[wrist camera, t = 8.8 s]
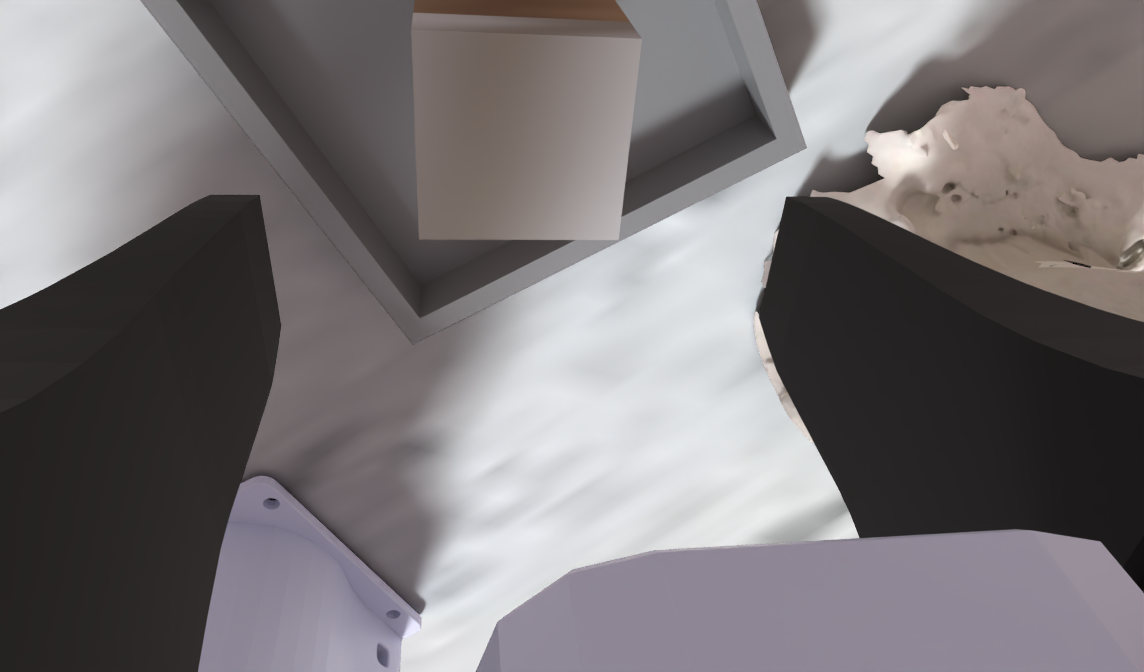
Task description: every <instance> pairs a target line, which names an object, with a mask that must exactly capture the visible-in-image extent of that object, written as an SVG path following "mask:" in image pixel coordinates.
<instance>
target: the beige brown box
mask: <svg viewBox="0 0 1144 672" xmlns="http://www.w3.org/2000/svg"><path fill="white" fill-rule="evenodd" d="M411 40H412V66H413V93H414V120H415V146H416V173H417V200H418V226H419V239H432V240H619V233H620V224H621V215H622V207H623V198H624V190H625V181H626V173H627V164H628V155H629V147H630V138H631V130H632V121H633V113H634V104H635V96H636V87H637V78H638V70H639V61H640V53H641V44H642V38H641V37H640V35H639V34H638V32H637V31H636V29H635V28H634V27H633V25H632V24H631V22H630V21H629V19H628V18H627V16H626V15H625V14H624V12H623V11H622V9H621V8H620V6H619V5H618V4H617V2H616V1H615V0H415V1H414V10H413V18H412V27H411Z"/></svg>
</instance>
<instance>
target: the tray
mask: <svg viewBox="0 0 1144 672" xmlns="http://www.w3.org/2000/svg"><path fill="white" fill-rule="evenodd" d="M414 1H415V0H141V2H142V3H143V4H144V6H145V7H146V8H147V9H148V11H149V12H150V13H151V14H152V16H153V17H154V18H155V19H156V21H157V22H158V23H159V24H160V26H161V27H162V28H163V30H164V31H165V32H166V33H167V35H168V36H169V37H170V38H171V40H172V41H173V42H174V43H175V45H176V46H177V47H178V48H179V50H180V51H181V52H182V54H183V55H184V56H185V57H186V59H187V60H188V61H189V62H190V64H191V65H192V66H193V67H194V69H195V70H196V71H197V72H198V74H199V75H200V76H201V78H202V79H203V80H204V81H205V83H206V84H207V85H208V86H209V88H210V89H211V90H212V91H213V93H214V94H215V95H216V96H217V98H218V99H219V100H220V102H221V103H222V104H223V105H224V107H225V108H226V109H227V110H228V112H229V113H230V114H231V115H232V117H233V118H234V119H235V120H236V122H237V123H238V124H239V126H240V127H241V128H242V129H243V131H244V132H245V133H246V134H247V136H248V137H249V138H250V139H251V141H252V142H253V143H254V144H255V146H256V147H257V148H258V150H259V151H260V152H261V153H262V155H263V156H264V157H265V158H266V160H267V161H268V162H269V163H270V165H271V166H272V167H273V168H274V170H275V171H276V172H277V174H278V175H279V176H280V177H281V179H282V180H283V181H284V182H285V184H286V185H287V186H288V187H289V189H290V190H291V191H292V193H293V194H294V195H295V196H296V198H297V199H298V200H299V201H300V203H301V204H302V205H303V206H304V208H305V209H306V210H307V211H308V213H309V214H310V215H311V217H312V218H313V219H314V220H315V222H316V223H317V224H318V225H319V227H320V228H321V229H322V230H323V232H324V233H325V234H326V235H327V237H328V238H329V239H330V241H331V242H332V243H333V244H334V246H335V247H336V248H337V249H338V251H339V252H340V253H341V254H342V256H343V257H344V258H345V259H346V261H347V262H348V263H349V265H350V266H351V267H352V268H353V270H354V271H355V272H356V273H357V275H358V276H359V277H360V278H361V280H362V281H363V282H364V283H365V285H366V286H367V287H368V289H369V290H370V291H371V292H372V294H373V295H374V296H375V297H376V299H377V300H378V301H379V302H380V304H381V305H382V306H383V307H384V309H385V310H386V311H387V313H388V314H389V315H390V316H391V318H392V319H393V320H394V321H395V323H396V324H397V325H398V326H399V328H400V329H401V330H402V331H403V333H404V334H405V335H406V337H407V338H408V339H409V340H410V342H411V343H412V344H415V343H417V342H419V341H421V340H423V339H425V338H427V337H429V336H431V335H433V334H435V333H437V332H439V331H441V330H443V329H445V328H447V327H449V326H451V325H453V324H455V323H457V322H459V321H461V320H463V319H465V318H467V317H469V316H471V315H473V314H475V313H477V312H479V311H481V310H483V309H485V308H487V307H489V306H491V305H493V304H495V303H497V302H499V301H501V300H503V299H505V298H507V297H509V296H511V295H513V294H515V293H517V292H519V291H521V290H523V289H525V288H527V287H529V286H531V285H533V284H535V283H537V282H539V281H541V280H543V279H545V278H547V277H549V276H551V275H553V274H555V273H557V272H559V271H561V270H563V269H565V268H567V267H569V266H571V265H573V264H575V263H577V262H579V261H581V260H583V259H585V258H587V257H589V256H591V255H593V254H595V253H597V252H599V251H601V250H603V249H605V248H607V247H609V246H611V245H613V244H615V243H617V242H619V241H621V240H623V239H625V238H627V237H629V236H631V235H633V234H635V233H637V232H639V231H641V230H643V229H645V228H647V227H649V226H651V225H653V224H655V223H657V222H659V221H661V220H663V219H665V218H667V217H669V216H671V215H673V214H675V213H677V212H679V211H681V210H683V209H685V208H687V207H689V206H691V205H693V204H695V203H697V202H699V201H701V200H703V199H705V198H707V197H709V196H711V195H714V194H716V193H718V192H720V191H722V190H724V189H726V188H728V187H730V186H732V185H734V184H736V183H738V182H740V181H742V180H744V179H746V178H748V177H750V176H752V175H754V174H756V173H758V172H760V171H762V170H764V169H766V168H768V167H770V166H772V165H774V164H776V163H778V162H780V161H782V160H784V159H786V158H788V157H790V156H792V155H794V154H796V153H798V152H800V151H802V150H804V149H806V148H807V147H806V144H805V141H804V138H803V135H802V132H801V129H800V126H799V123H798V120H797V117H796V114H795V111H794V108H793V105H792V102H791V100H790V97H789V94H788V91H787V88H786V85H785V82H784V79H783V76H782V73H781V70H780V67H779V64H778V61H777V58H776V56H775V53H774V50H773V47H772V44H771V41H770V38H769V35H768V32H767V29H766V26H765V23H764V20H763V17H762V14H761V11H760V9H759V6H758V3H757V0H615V1H616V2H617V4H618V5H619V6H620V8H621V9H622V11H623V12H624V14H625V15H626V16H627V18H628V19H629V21H630V22H631V24H632V25H633V27H634V28H635V29H636V31H637V32H638V34H639V35H640V37H641V38H642V44H641V53H640V61H639V70H638V78H637V87H636V96H635V104H634V113H633V121H632V130H631V138H630V147H629V155H628V164H627V173H626V181H625V190H624V198H623V207H622V215H621V224H620V233H619V240H432V239H419V226H418V200H417V173H416V146H415V120H414V93H413V66H412V40H411V27H412V18H413V10H414Z"/></svg>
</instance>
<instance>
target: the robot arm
mask: <svg viewBox="0 0 1144 672" xmlns="http://www.w3.org/2000/svg"><path fill="white" fill-rule="evenodd" d="M759 320H760V323H761V326H762V329H763V332H764V336H765V339H766V342H767V345H768V348H769V351H770V354H771V357H772V359H773V362H774V365H775V368H776V371H777V373H778V375H779V377H780V379H781V381H782V383H783V385H784V387H785V389H786V391H787V393H788V395H789V396H790V398H791V400H792V402H793V404H794V406H795V408H796V410H797V412H798V414H799V416H800V417H801V419H802V421H803V423H804V425H805V427H806V429H807V431H808V432H809V434H810V436H811V438H812V440H813V442H814V444H815V446H816V447H817V449H818V451H819V453H820V455H821V457H822V459H823V460H824V462H825V464H826V466H827V468H828V470H829V472H830V474H831V475H832V477H833V479H834V481H835V483H836V485H837V487H838V489H839V491H840V493H841V495H842V497H843V499H844V501H845V504H846V506H847V508H848V510H849V512H850V514H851V517H852V519H853V522H854V524H855V527H856V530H857V532H858V535H859V537H860V538H857V539H840V540H823V541H806V542H789V543H772V544H754V545H737V546H720V547H703V548H686V549H669V550H654V551H649V552H645V553H641V554H637V555H632V556H628V557H624V558H620V559H615V560H611V561H607V562H603V563H599V564H594V565H590V566H586V567H582V568H577V569H573V570H571V571H570V572H568V573H567V574H565V575H564V576H562V577H561V578H560V579H558V580H557V581H555V582H554V583H552V584H551V585H549V586H548V587H546V588H545V589H544V590H542V591H541V592H539V593H538V594H536V595H535V596H533V597H532V598H530V599H529V600H527V601H526V602H525V603H523V604H522V605H520V606H519V607H517V608H516V609H514V610H513V611H511V612H510V613H509V614H507V615H506V616H505V617H503V618H502V619H501V620H499V621H498V622H497V624H496V627H495V629H494V631H493V634H492V636H491V638H490V640H489V643H488V645H487V647H486V650H485V652H484V654H483V656H482V659H481V661H480V663H479V666H478V668H477V670H476V672H1144V322H1141V321H1138V320H1134V319H1130V318H1127V317H1124V316H1120V315H1117V314H1114V313H1110V312H1107V311H1104V310H1100V309H1097V308H1094V307H1091V306H1088V305H1085V304H1083V303H1080V302H1077V301H1074V300H1071V299H1068V298H1065V297H1062V296H1059V295H1056V294H1053V293H1051V292H1048V291H1045V290H1042V289H1040V288H1037V287H1034V286H1032V285H1029V284H1026V283H1024V282H1021V281H1019V280H1016V279H1014V278H1012V277H1009V276H1007V275H1005V274H1002V273H1000V272H998V271H995V270H993V269H990V268H988V267H986V266H983V265H981V264H979V263H976V262H974V261H972V260H970V259H967V258H965V257H963V256H961V255H959V254H956V253H954V252H952V251H950V250H948V249H946V248H943V247H941V246H939V245H937V244H935V243H933V242H931V241H929V240H927V239H925V238H922V237H920V236H918V235H916V234H914V233H912V232H910V231H908V230H906V229H904V228H902V227H899V226H897V225H895V224H893V223H891V222H889V221H887V220H885V219H883V218H881V217H878V216H876V215H874V214H872V213H870V212H867V211H865V210H863V209H860V208H858V207H856V206H853V205H851V204H848V203H846V202H843V201H840V200H837V199H833V198H830V197H786V200H785V205H784V209H783V213H782V218H781V222H780V226H779V231H778V235H777V240H776V244H775V248H774V253H773V257H772V261H771V266H770V270H769V274H768V279H767V283H766V288H765V292H764V296H763V301H762V305H761V309H760V314H759ZM280 330H281V322H280V316H279V310H278V304H277V298H276V292H275V286H274V280H273V274H272V268H271V262H270V256H269V250H268V244H267V238H266V232H265V225H264V219H263V213H262V207H261V201H260V195H209V196H207V197H204V198H202V199H200V200H198V201H196V202H194V203H192V204H190V205H189V206H187V207H185V208H184V209H182V210H180V211H178V212H177V213H175V214H173V215H172V216H170V217H169V218H167V219H165V220H164V221H162V222H160V223H159V224H157V225H156V226H154V227H152V228H151V229H149V230H147V231H146V232H144V233H142V234H141V235H139V236H137V237H136V238H134V239H133V240H131V241H129V242H128V243H126V244H124V245H123V246H121V247H119V248H118V249H116V250H114V251H113V252H111V253H109V254H108V255H106V256H104V257H102V258H100V259H98V260H97V261H95V262H93V263H91V264H89V265H87V266H86V267H84V268H82V269H80V270H78V271H76V272H75V273H73V274H71V275H69V276H67V277H65V278H64V279H62V280H60V281H58V282H56V283H54V284H53V285H51V286H49V287H47V288H45V289H43V290H41V291H39V292H37V293H35V294H33V295H31V296H29V297H27V298H24V299H22V300H20V301H18V302H16V303H14V304H12V305H9V306H7V307H5V308H3V309H0V672H400V662H401V641H402V639H404V638H406V637H409V636H411V635H413V634H415V633H417V632H418V631H419V630H420V629H421V617H420V615H419V614H418V613H417V612H416V611H415V610H413V609H412V608H411V607H410V606H409V605H408V604H407V603H406V602H405V601H404V600H403V599H402V598H401V597H400V596H399V595H397V594H396V593H395V592H394V591H393V590H392V589H391V588H390V587H389V586H388V585H387V584H386V583H385V582H384V581H382V580H381V579H380V578H379V577H378V576H377V575H376V574H375V573H374V572H373V571H372V570H371V569H370V568H369V567H368V566H366V565H365V564H364V563H363V562H362V561H361V560H360V559H359V558H358V557H357V556H356V555H355V554H354V553H353V552H352V551H350V550H349V549H348V548H347V547H346V546H345V545H344V544H343V543H342V542H341V541H340V540H339V539H338V538H337V537H336V536H334V535H333V534H332V533H331V532H330V531H329V530H328V529H327V528H326V527H325V526H324V525H323V524H322V523H321V522H320V521H318V520H317V519H316V518H315V517H314V516H313V515H312V514H311V513H310V512H309V511H308V510H307V509H306V508H305V507H303V506H302V505H301V504H300V503H299V502H298V501H297V500H296V499H295V498H294V497H293V496H292V495H291V494H290V493H289V492H287V491H286V490H285V489H284V488H283V487H282V486H281V485H280V484H279V483H278V482H277V481H276V480H274V479H273V478H271V477H267V476H257V477H253V478H251V479H249V480H247V481H245V482H243V483H241V480H242V477H243V474H244V471H245V468H246V465H247V461H248V458H249V455H250V452H251V449H252V446H253V443H254V440H255V437H256V434H257V431H258V428H259V425H260V421H261V418H262V415H263V412H264V409H265V406H266V403H267V399H268V396H269V393H270V390H271V386H272V381H273V375H274V369H275V364H276V358H277V351H278V344H279V337H280ZM240 483H241V484H240ZM268 498H274V499H276V501H273V500H269V499H268Z"/></svg>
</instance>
